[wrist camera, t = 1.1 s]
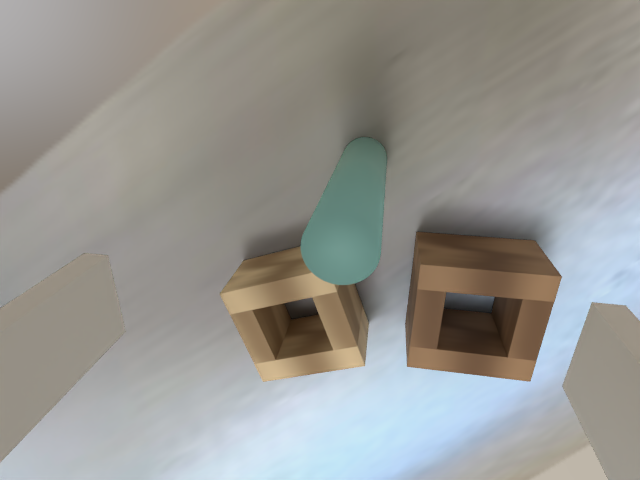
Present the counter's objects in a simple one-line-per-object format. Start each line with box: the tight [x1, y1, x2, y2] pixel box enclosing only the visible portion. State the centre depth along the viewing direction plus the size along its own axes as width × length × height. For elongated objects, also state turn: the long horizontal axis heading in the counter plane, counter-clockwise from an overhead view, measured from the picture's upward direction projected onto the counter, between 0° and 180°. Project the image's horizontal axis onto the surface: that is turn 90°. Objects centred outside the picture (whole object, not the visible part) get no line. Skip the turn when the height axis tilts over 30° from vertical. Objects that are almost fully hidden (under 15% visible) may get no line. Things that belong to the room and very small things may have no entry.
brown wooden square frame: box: [405, 232, 562, 381], centre depth 28 cm, size 8×8×5 cm
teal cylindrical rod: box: [301, 137, 387, 285], centre depth 21 cm, size 3×3×14 cm
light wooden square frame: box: [220, 246, 369, 382], centre depth 31 cm, size 8×8×5 cm
